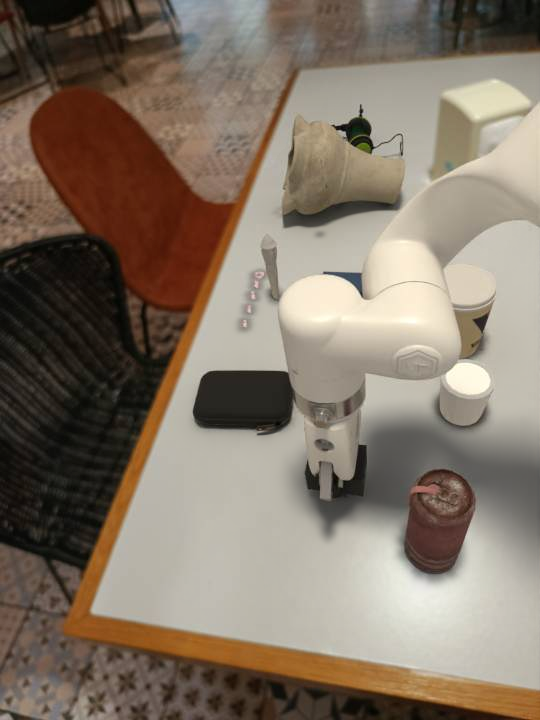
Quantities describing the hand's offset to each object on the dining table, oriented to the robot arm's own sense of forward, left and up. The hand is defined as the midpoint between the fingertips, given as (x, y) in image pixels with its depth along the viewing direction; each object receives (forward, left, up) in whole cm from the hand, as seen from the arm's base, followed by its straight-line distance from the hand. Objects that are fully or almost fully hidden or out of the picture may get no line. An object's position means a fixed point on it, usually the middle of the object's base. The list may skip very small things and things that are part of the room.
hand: (337, 472), depth 67 cm
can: (-12, +7, -3) cm, 14 cm away
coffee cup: (-15, -27, -3) cm, 31 cm away
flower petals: (+20, -35, -3) cm, 40 cm away
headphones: (+6, -87, -3) cm, 87 cm away
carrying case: (+15, -11, -3) cm, 19 cm away
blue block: (+4, -35, -2) cm, 35 cm away
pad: (0, 0, -1) cm, 1 cm away
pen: (+15, -35, -3) cm, 38 cm away
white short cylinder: (-16, -14, -3) cm, 21 cm away
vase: (+6, -64, -3) cm, 64 cm away
